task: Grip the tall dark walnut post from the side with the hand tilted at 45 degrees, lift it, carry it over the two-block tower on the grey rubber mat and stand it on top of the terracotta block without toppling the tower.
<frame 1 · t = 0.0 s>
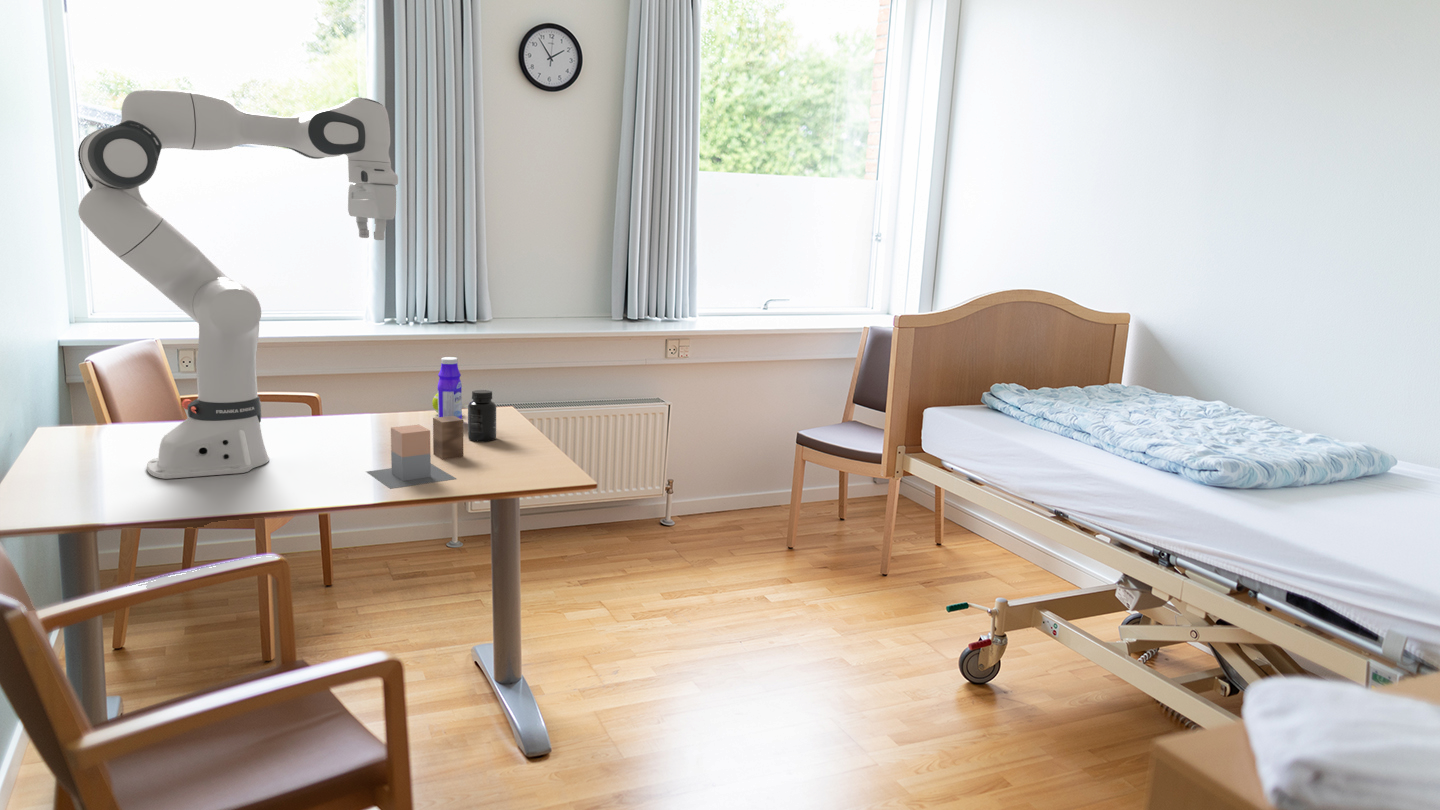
hand: (371, 238, 205), 48 cm above the table, tool pointing down, fingers open, 8 cm apart
walnut post: (448, 457, 209), on the table
tower top: (410, 452, 191), point 5 cm above the table, touching tower bottom
supplement bottle: (482, 439, 227), on the table
rubber mat: (411, 477, 192), on the table
bottle: (450, 424, 241), on the table
tower bottom: (411, 475, 192), resting on rubber mat, touching tower top
tennis ball: (445, 415, 250), on the table
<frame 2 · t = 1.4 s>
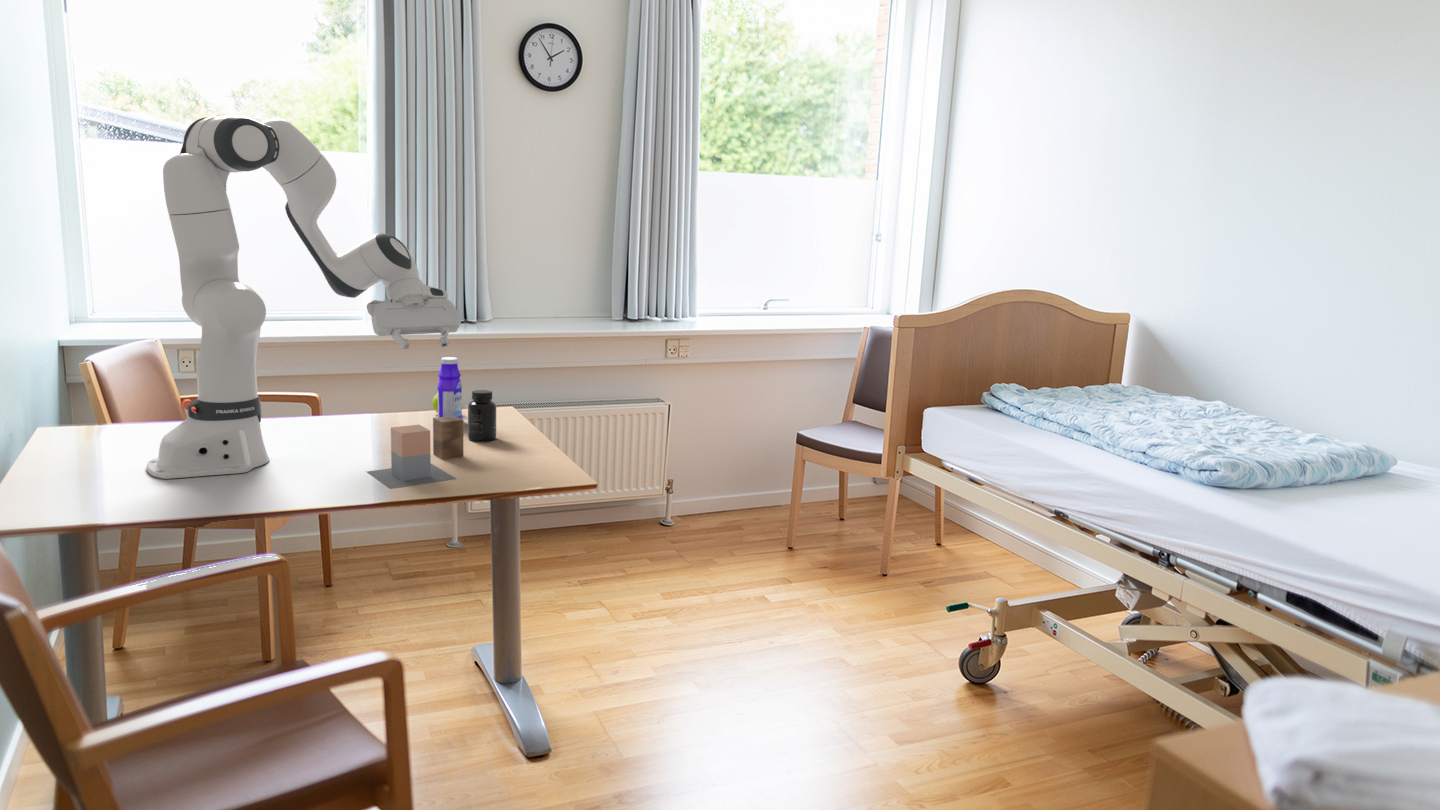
hand: (425, 346, 213), 24 cm above the table, tool tilted 45°, fingers open, 8 cm apart
nothing on the table moved.
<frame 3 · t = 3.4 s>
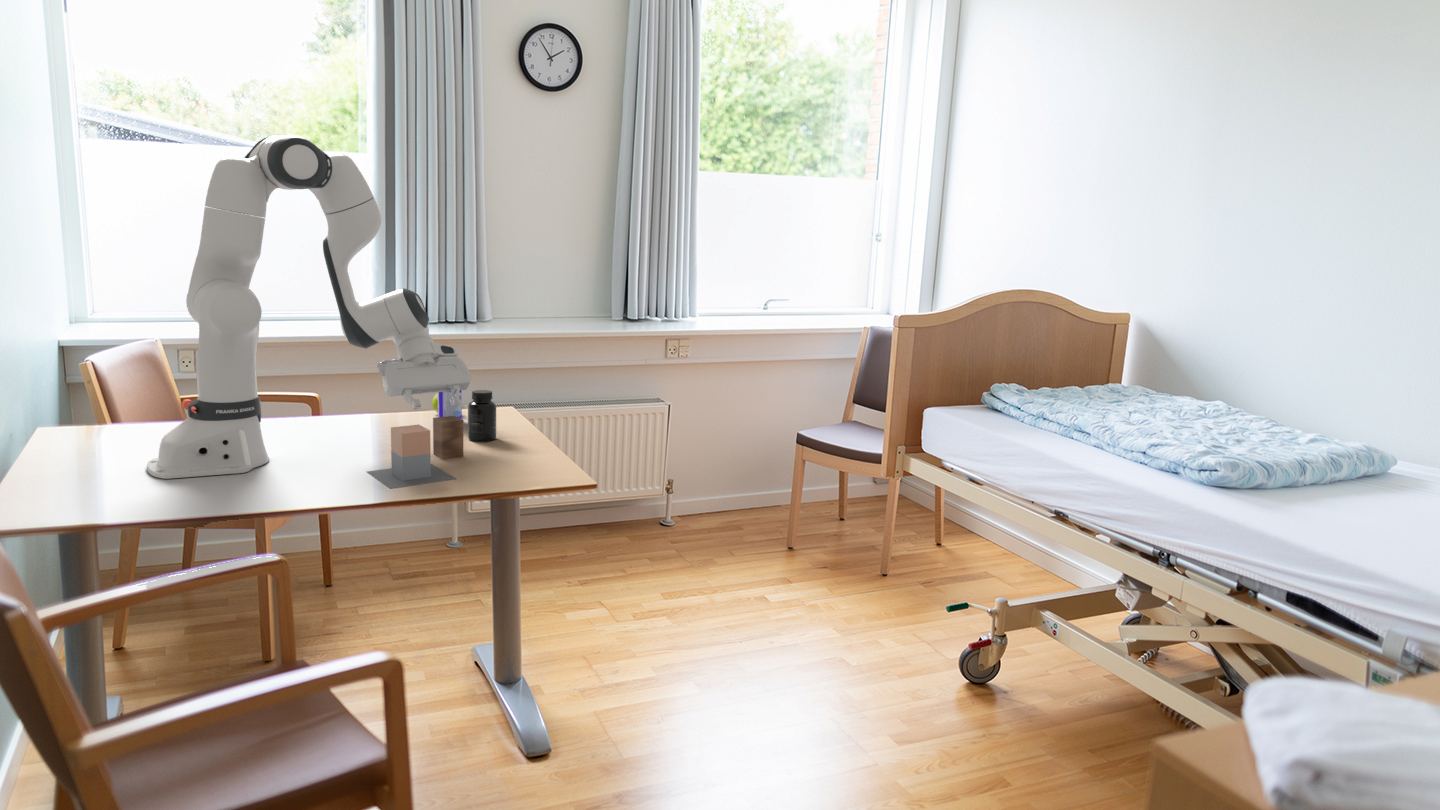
hand: (436, 405, 212), 11 cm above the table, tool tilted 45°, fingers open, 8 cm apart
nothing on the table moved.
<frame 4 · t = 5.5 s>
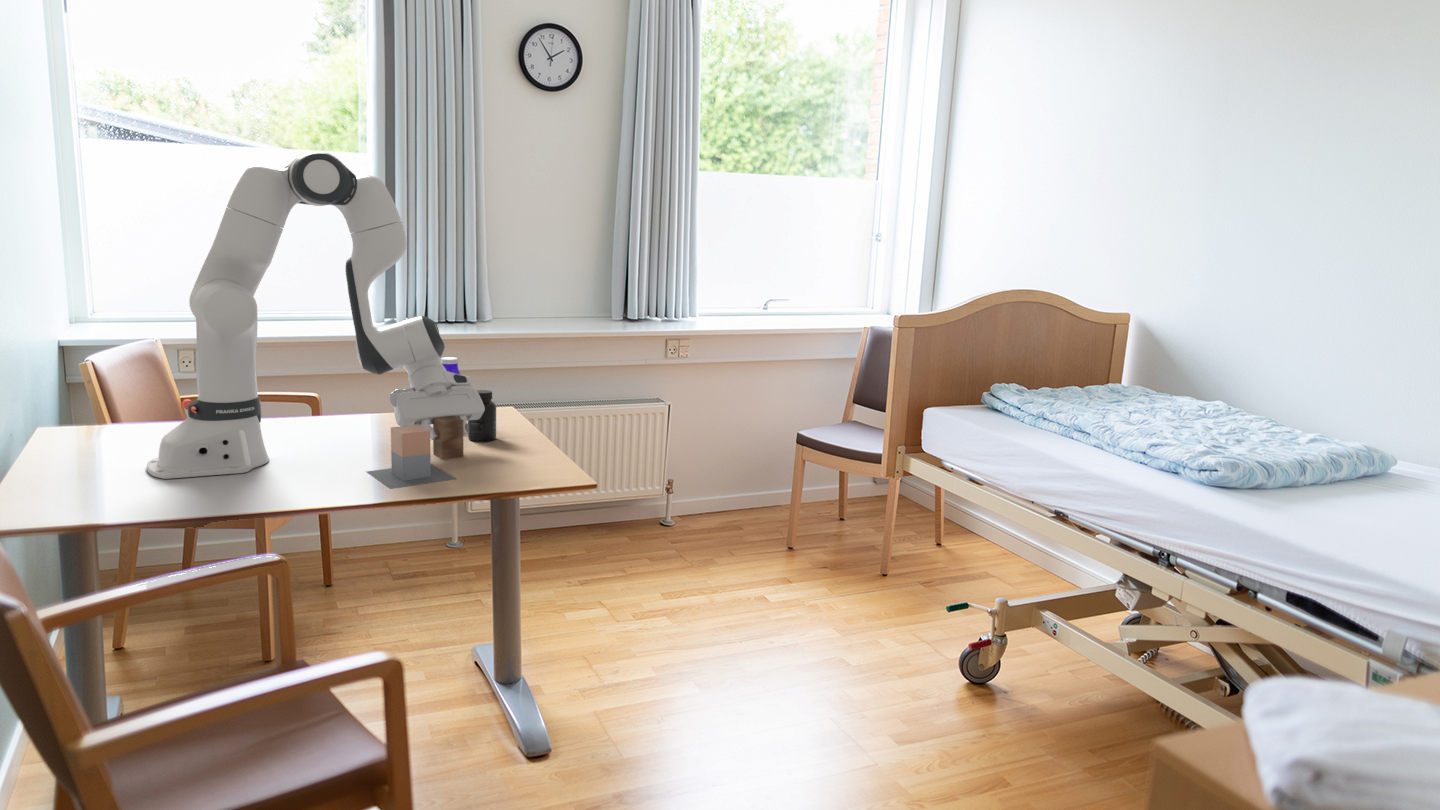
hand: (449, 436, 207), 5 cm above the table, tool tilted 45°, fingers closed on walnut post, 5 cm apart
walnut post: (448, 457, 209), on the table, touching gripper
everything else where it was.
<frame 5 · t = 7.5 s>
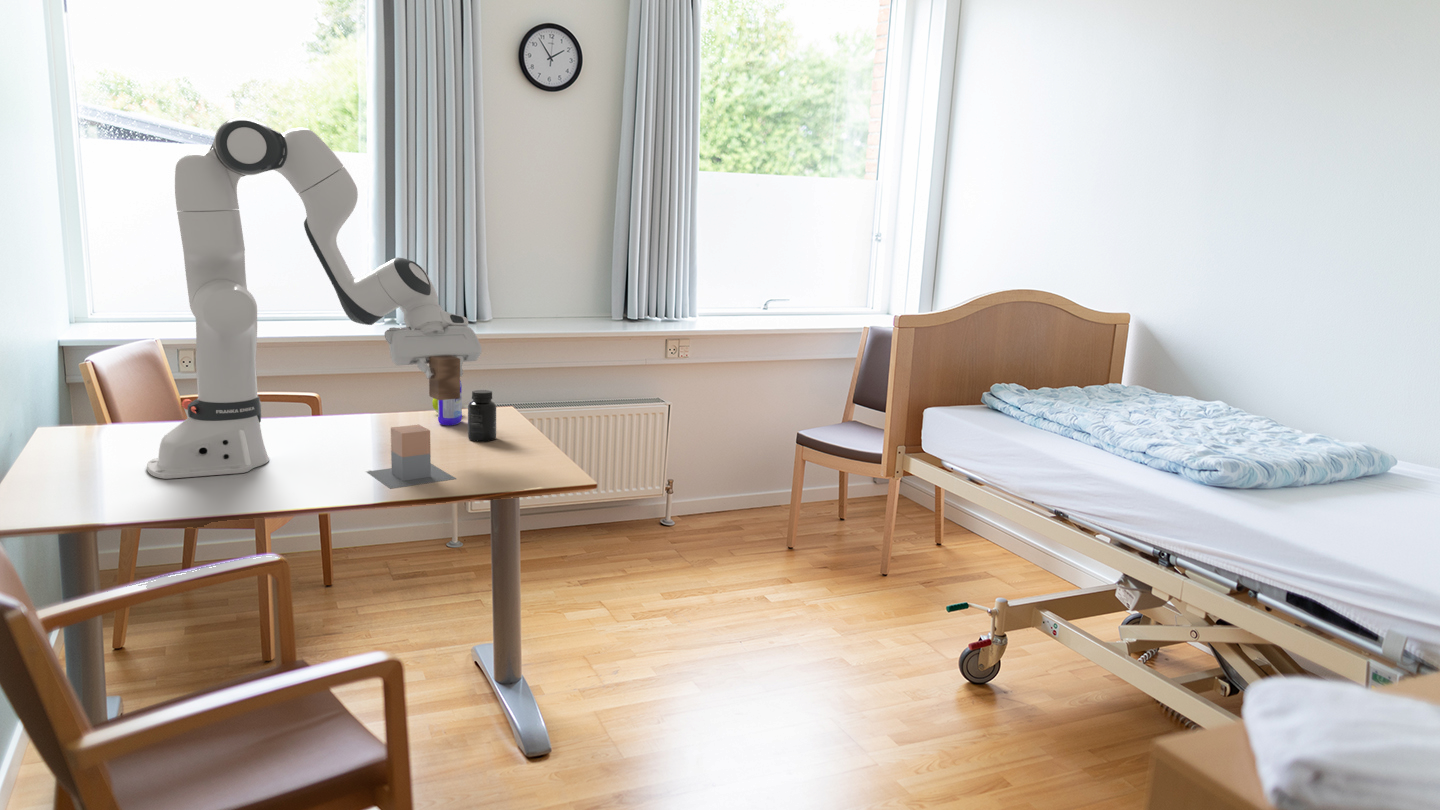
hand: (445, 376, 203), 19 cm above the table, tool tilted 45°, fingers closed on walnut post, 5 cm apart
walnut post: (444, 397, 205), point 14 cm above the table, touching gripper
everything else where it was.
when the fingers open (16 cm above the table, at t = 9.5 s): walnut post drops 1 cm, resting on tower top.
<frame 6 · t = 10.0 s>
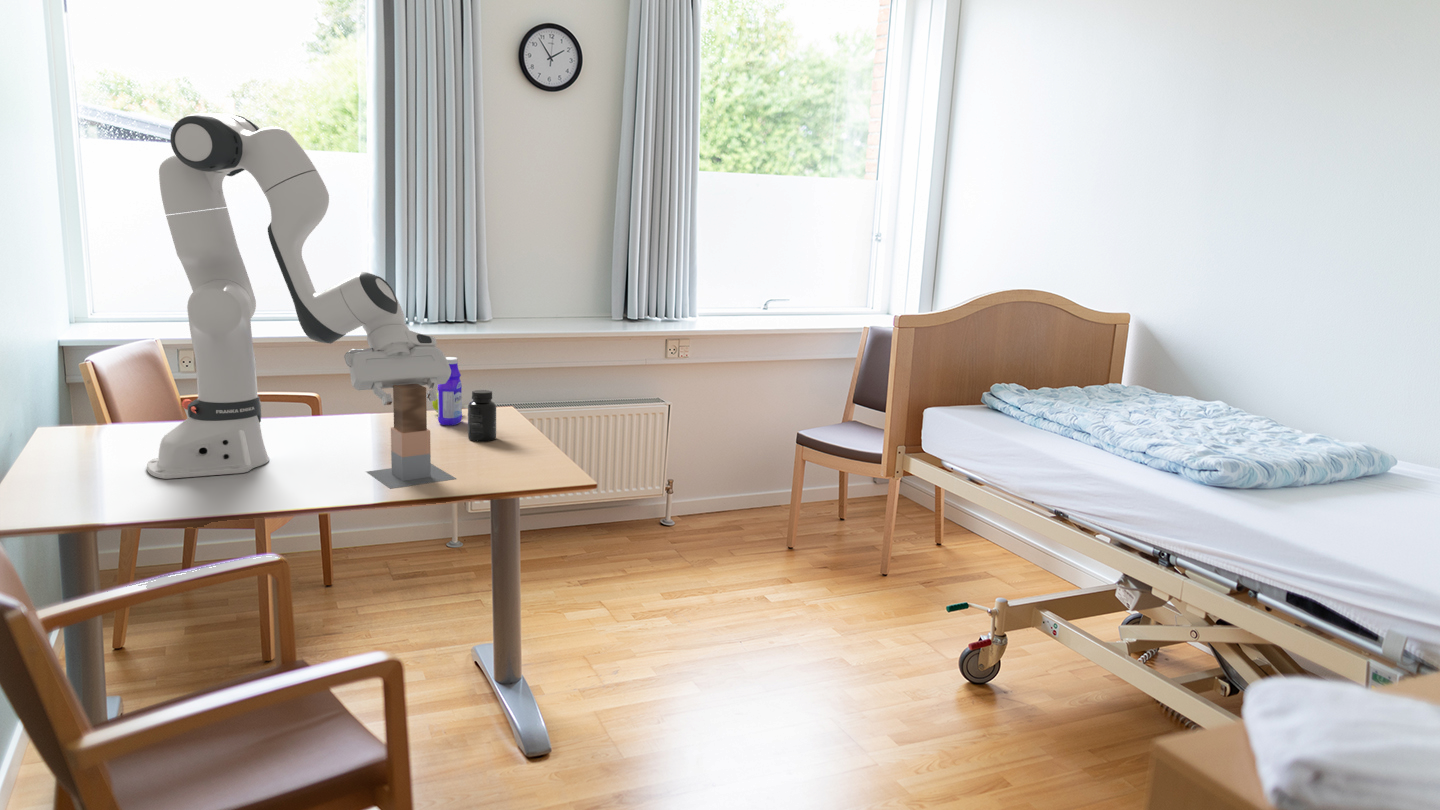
hand: (411, 401, 189), 16 cm above the table, tool tilted 45°, fingers open, 8 cm apart
walnut post: (410, 429, 190), point 10 cm above the table, touching tower top
tower top: (410, 452, 191), point 5 cm above the table, touching tower bottom, walnut post
everything else where it was.
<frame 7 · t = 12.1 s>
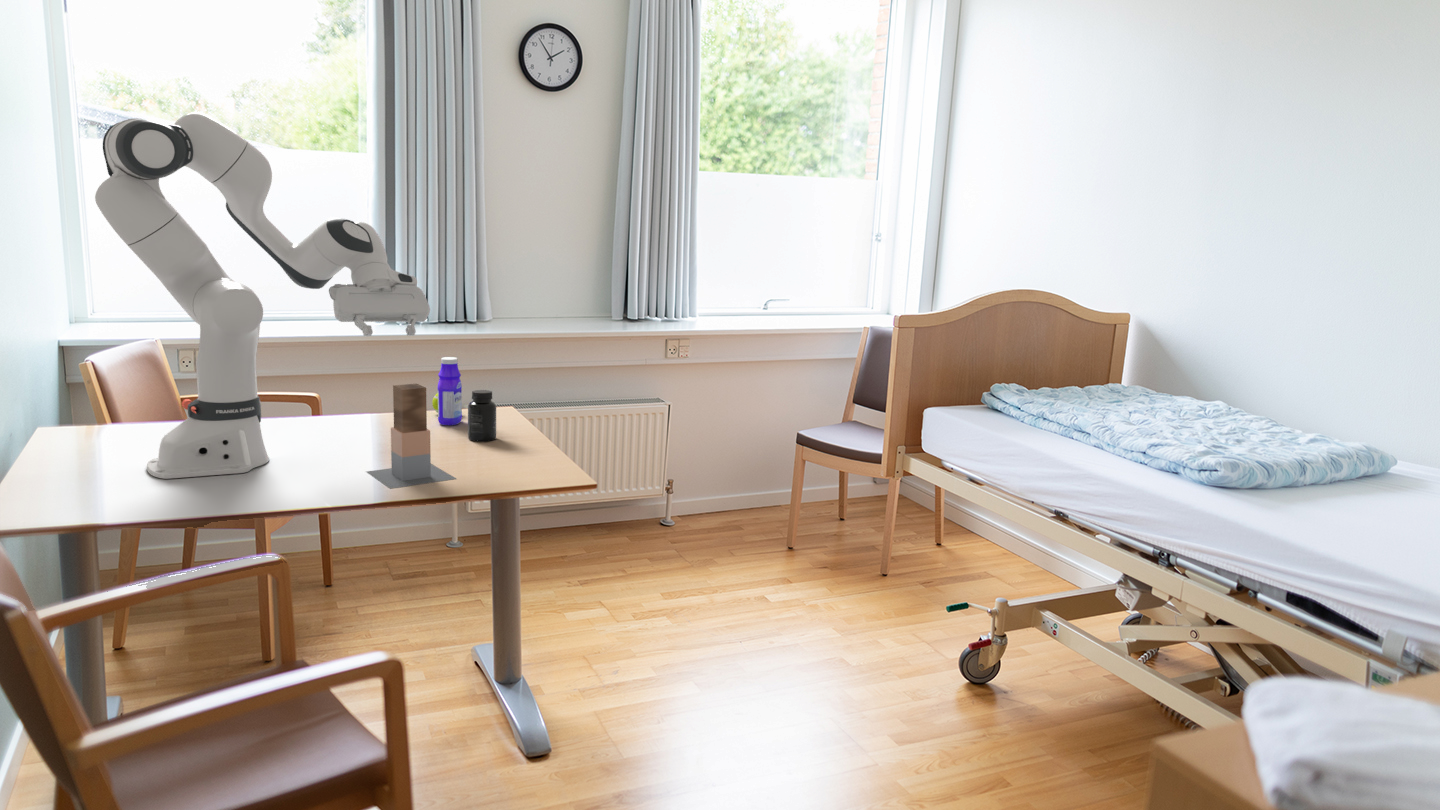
hand: (390, 334, 200), 28 cm above the table, tool tilted 45°, fingers open, 8 cm apart
nothing on the table moved.
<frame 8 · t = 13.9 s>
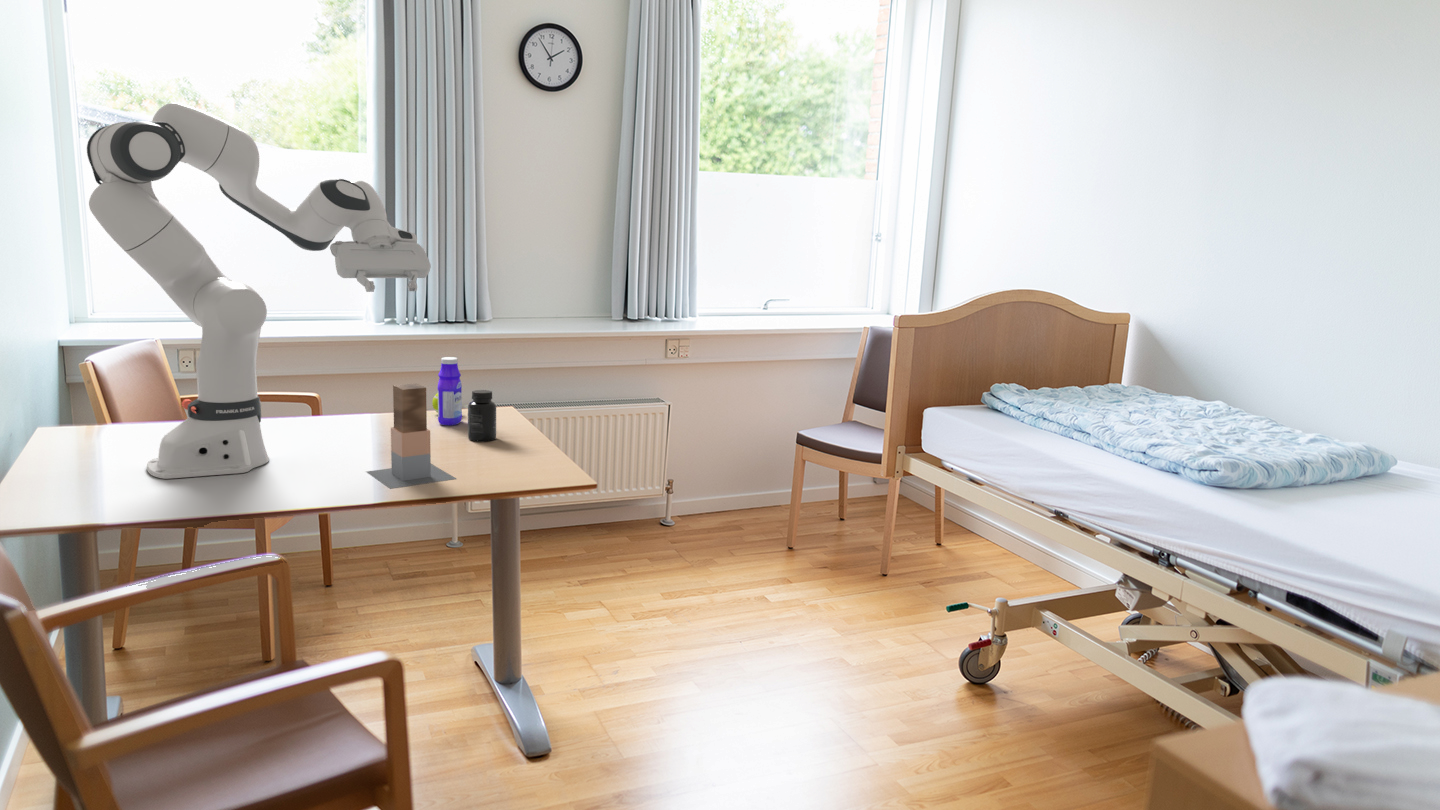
hand: (392, 289, 202), 37 cm above the table, tool tilted 45°, fingers open, 8 cm apart
nothing on the table moved.
at the end: walnut post 0.1 cm off-centre on the tower top, point 5.0 cm above the tower top's base; walnut post tilted 0°; tower top moved 0.0 cm from its start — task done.
